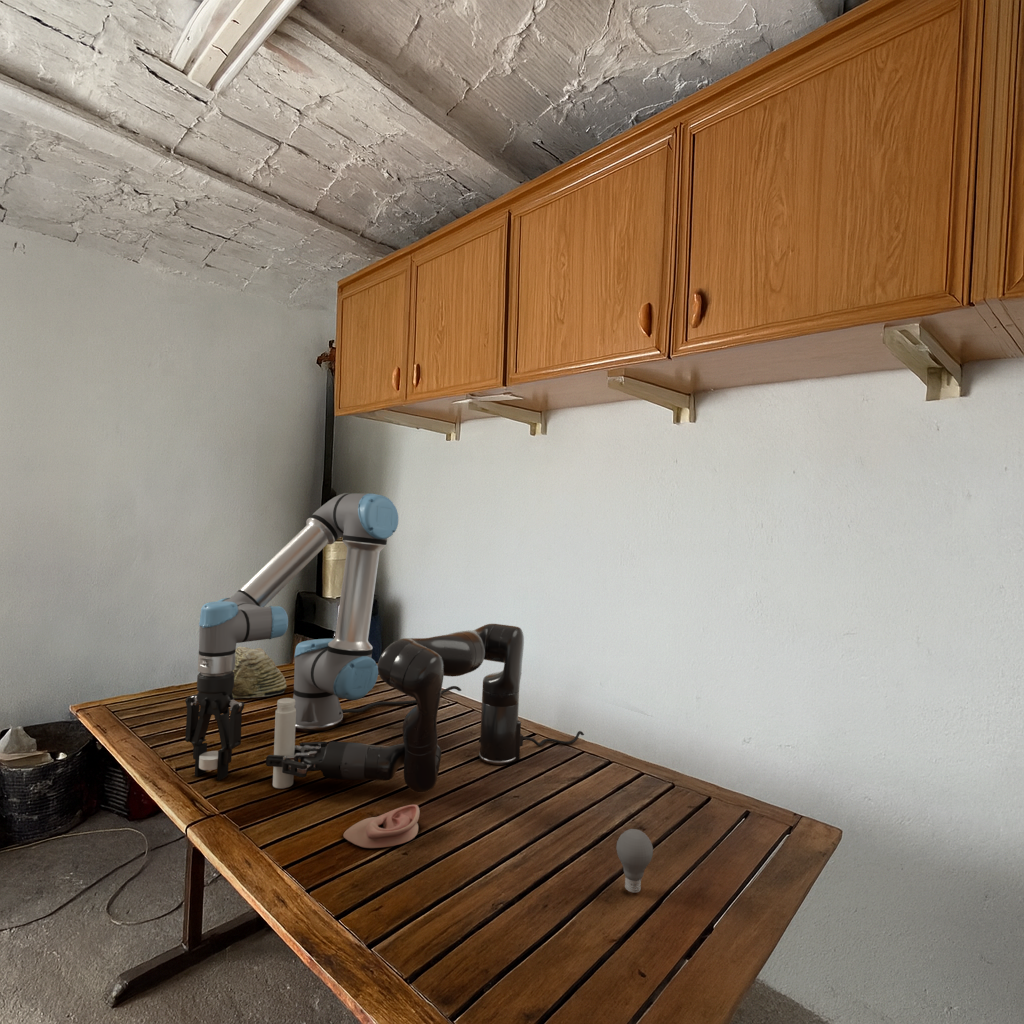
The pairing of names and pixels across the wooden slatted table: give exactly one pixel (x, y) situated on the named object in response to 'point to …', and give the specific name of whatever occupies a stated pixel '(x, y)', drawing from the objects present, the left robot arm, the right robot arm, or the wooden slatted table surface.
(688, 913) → the wooden slatted table surface
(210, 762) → the lid
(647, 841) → the light bulb
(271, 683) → the fossil
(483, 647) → the right robot arm
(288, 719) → the off-white cylindrical rod
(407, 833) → the anatomical model
